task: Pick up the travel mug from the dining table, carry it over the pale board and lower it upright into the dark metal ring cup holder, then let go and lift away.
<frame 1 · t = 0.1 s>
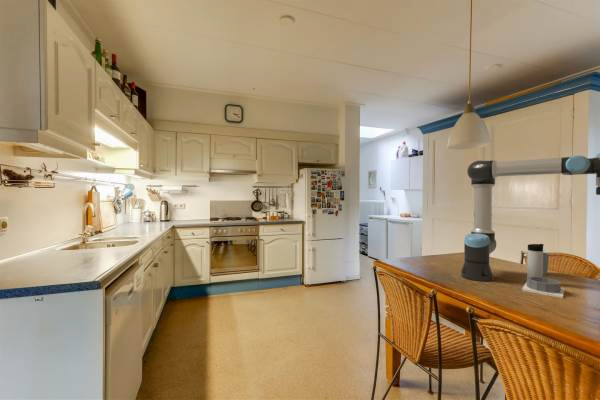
travel mug: (535, 282, 145), on the table
cup holder: (543, 290, 132), on the table
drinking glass: (537, 273, 162), on the table
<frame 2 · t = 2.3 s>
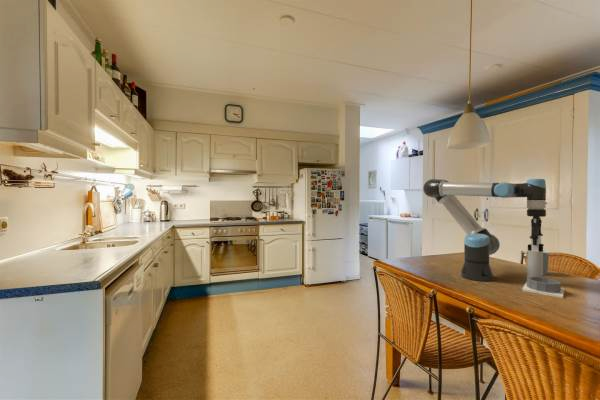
hand: (536, 249, 145), 17 cm above the table, tool pointing down, fingers open, 13 cm apart
nothing on the table moved.
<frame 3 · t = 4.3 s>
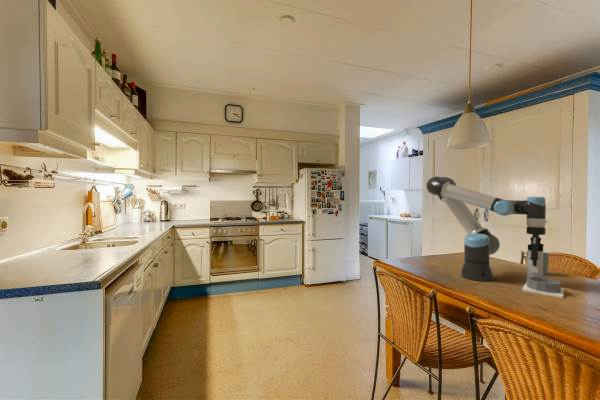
hand: (535, 270, 145), 6 cm above the table, tool pointing down, fingers closed on travel mug, 6 cm apart
travel mug: (535, 282, 145), on the table, touching gripper
everything else where it was.
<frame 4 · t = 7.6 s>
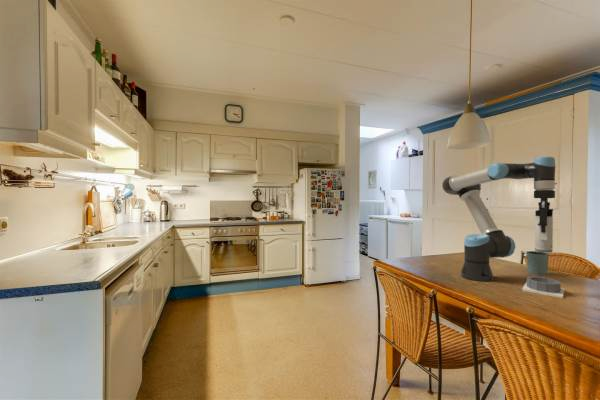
hand: (543, 238, 132), 25 cm above the table, tool pointing down, fingers closed on travel mug, 6 cm apart
travel mug: (543, 251, 132), point 18 cm above the table, touching gripper
everything else where it was.
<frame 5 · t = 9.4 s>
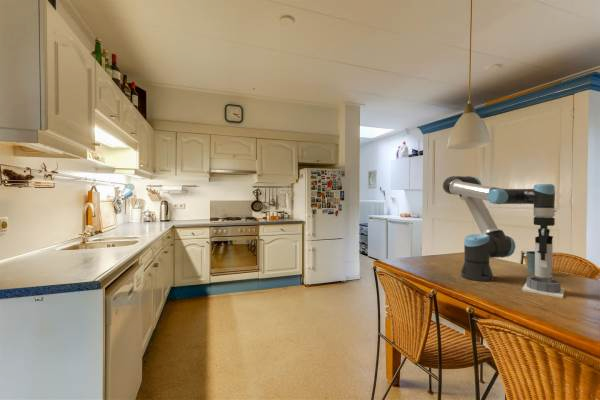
hand: (543, 265, 132), 12 cm above the table, tool pointing down, fingers closed on travel mug, 6 cm apart
travel mug: (543, 278, 132), point 6 cm above the table, touching gripper
everything else where it was.
when the fingers open (8 cm above the table, at t = 10.9 s): travel mug drops 1 cm, resting on cup holder.
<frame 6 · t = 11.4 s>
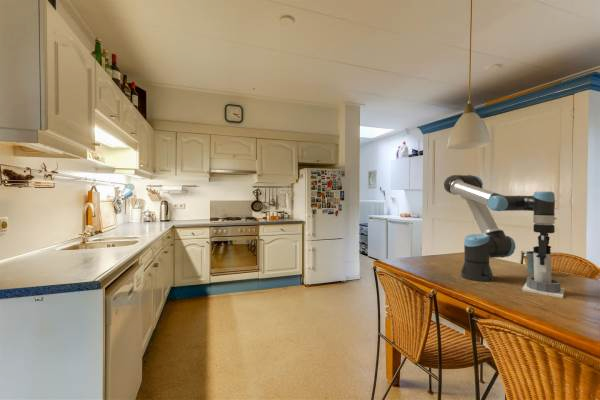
hand: (543, 269, 132), 10 cm above the table, tool pointing down, fingers open, 13 cm apart
travel mug: (543, 288, 132), point 1 cm above the table, touching cup holder
everything else where it was.
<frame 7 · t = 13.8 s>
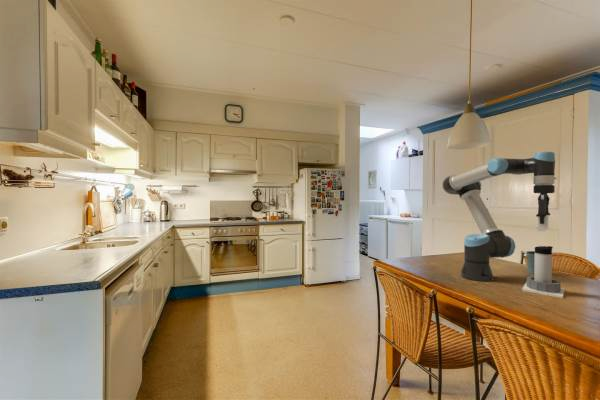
hand: (543, 229, 132), 29 cm above the table, tool pointing down, fingers open, 13 cm apart
nothing on the table moved.
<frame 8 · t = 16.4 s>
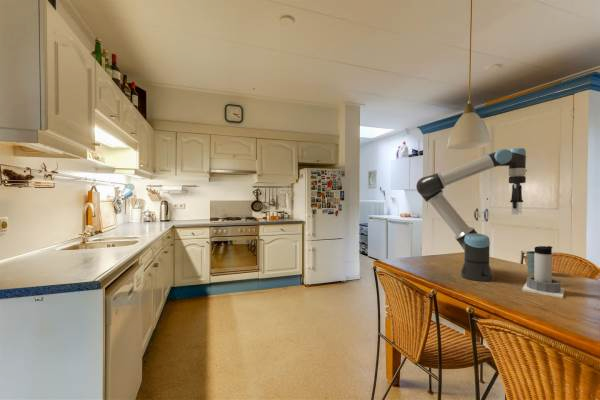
hand: (516, 214, 157), 35 cm above the table, tool pointing down, fingers open, 13 cm apart
nothing on the table moved.
at the end: travel mug 0.1 cm off-centre on the cup holder, point 0.8 cm above the cup holder's base; travel mug tilted 1°; the gripper is holding nothing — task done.
